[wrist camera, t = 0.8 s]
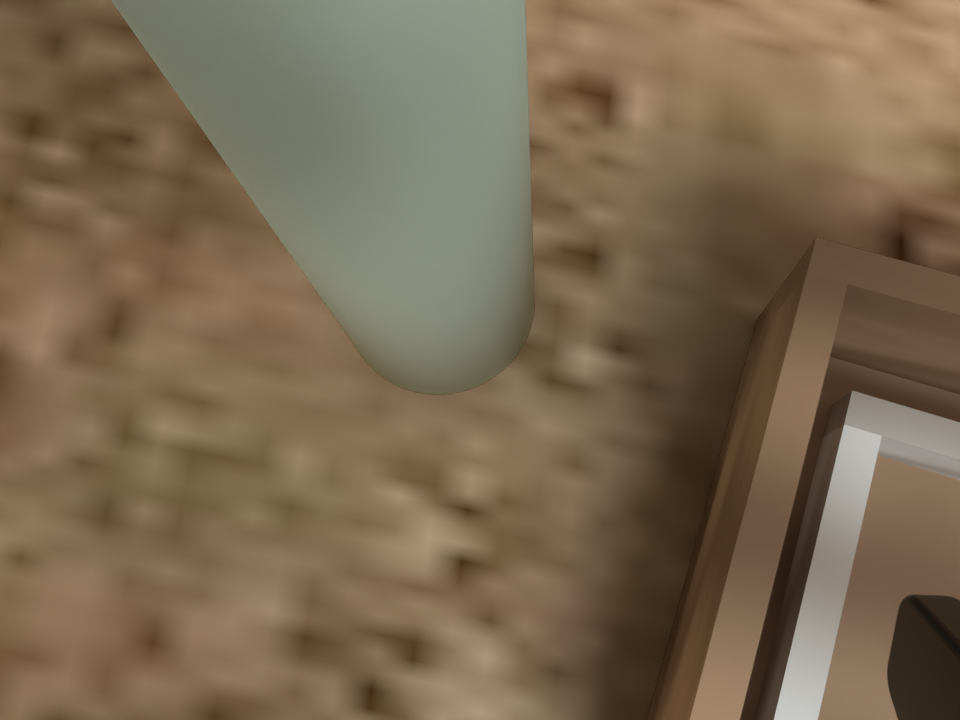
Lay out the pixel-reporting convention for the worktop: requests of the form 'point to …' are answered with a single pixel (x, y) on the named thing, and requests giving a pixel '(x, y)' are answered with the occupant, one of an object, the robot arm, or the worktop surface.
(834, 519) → the walnut box
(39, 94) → the worktop surface
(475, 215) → the sage peg
